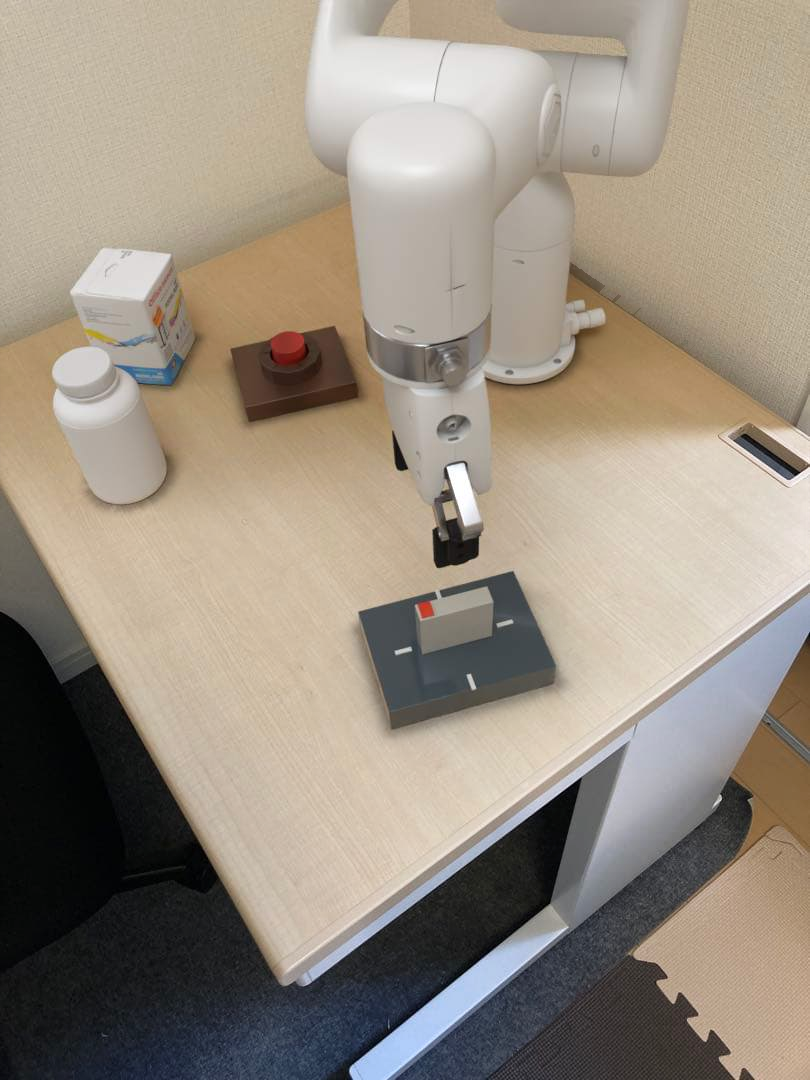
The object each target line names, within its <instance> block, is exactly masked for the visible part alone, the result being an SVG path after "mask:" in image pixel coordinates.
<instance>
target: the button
mask: <svg viewBox="0 0 810 1080" xmlns="http://www.w3.org/2000/svg"><path fill="white" fill-rule="evenodd" d="M299 333H300V332H297V331H293V330H292V331H291V330H289V331H282V332H280V333H277V334H276V335H274V336H275V337H274V336H272V337H273V339H272V340H271V349H272V354H273V358H274V360H275V361H276V362H277V363H278V364H282V365H291V364H296V363H299V362H300V361H302V360H303V359H305V357H306V347H305V341H304V337H303V336H302V335H301V334H299Z"/></svg>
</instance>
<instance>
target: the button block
mask: <svg viewBox="0 0 810 1080" xmlns="http://www.w3.org/2000/svg"><path fill="white" fill-rule="evenodd" d="M298 333H299V334H301V335H302V336H303V337H304V341H305V347H306V357H305V359H303V360H302V361H300V362H299V363H296V364H291V365H282V364H278V363H277V362H276V361H275V360H274V358H273V354H272V349H271V340H272V339H273V337H275V336H276V335H274V336H272V337H270V338H269V339H267V340H263V341H258V342H253V343H249V344H244V345H240V346H236V347H235V346H234V347H230V353H231V357H232V362H233V365H234V370H235V373H236V374H235V375H236V377H237V381H238V386H239V389H240V393H241V398H242V401H243V405H244V409H245V412H246V416H247V421H248V422H249V423H251V422H256V421H260V420H264V419H269V418H273V417H277V416H282V415H287V414H290V413H295V412H298V411H304V410H308V409H313V408H316V407H320V406H325V405H330V404H335V403H339V402H343V401H347V400H352V399H356V398H358V397H359V393H358V386H357V381H356V378H355V375H354V373H353V370H352V368H351V365H350V362H349V359H348V356H347V354H346V352H345V349H344V346H343V344H342V341H341V338H340V335H339V333H338V330H337V328H336V326H335V325H332V326H327V327H323V328H319V329H318V328H317V329H314V330H308V331H305V332H298Z"/></svg>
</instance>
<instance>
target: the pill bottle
mask: <svg viewBox="0 0 810 1080" xmlns="http://www.w3.org/2000/svg"><path fill="white" fill-rule="evenodd" d="M51 376H52V379H53V381H54V383H55V385H56V387H57V388H56V390H55V392H54V395H53V399H52V409H53V413H54V416H55V418H56V420H57V423H58V425H59V427H60V429H61V431H62V433H63V435H64V437H65V439H66V441H67V443H68V446H69V447H70V449H71V451H72V454H73V456H74V458H75V460H76V463H77V464H78V466H79V469H80V471H81V473H82V474H83V477H84V479H85V481H86V483H87V485H88V487H89V489H90V490H91V491H92V493H93V494H94V495H95V496H96V498H98V499H99V500H101V501H103V502H105V503H108V504H112V505H129V504H130V505H131V504H134V503H139V502H140V501H143V500H145V499H147V498H148V497H150V496H151V495H153V494H155V493H156V492H157V491H158V489H160V487H161V486H162V484H163V483H164V481H165V479H166V477H167V471H168V470H167V469H168V467H167V461H166V457H165V453H164V452H163V449H162V446H161V444H160V441H159V438H158V434H157V433H156V430H155V426H154V424H153V421H152V418H151V416H150V413H149V410H148V408H147V405H146V402H145V399H144V397H143V394H142V391H141V388H140V386H139V383H137V382H136V381H135V379H134V378H133V377H132V376H131V375H130V374H129V373H127V372H126V371H124V370H122V369H120V368H118V367H115V366H114V363H113V361H112V358H111V356H110V355H109V354H108V353H107V352H106V351H104V350H103V349H100V348H97V347H91V346H80V347H77V348H73V349H71V350H69V351H67V352H65V353H64V354H62V355H61V356H60V357H59V358H58V359H56V361H55V362H54V364H53V367H52V371H51Z"/></svg>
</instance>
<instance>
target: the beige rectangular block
mask: <svg viewBox="0 0 810 1080" xmlns="http://www.w3.org/2000/svg"><path fill="white" fill-rule="evenodd" d="M415 616H416V630H417V640H418V643H419V646H420V649H421V652H422V654H426V653H430V652H433V651H437V650H441V649H445V648H448V647H452V646H456V645H460V644H463V643H467V642H471V641H475V640H478V639H482V638H486V637H490V636H492V622H493V599H492V597H491V594H490V592H489V590H488V587H487V586H486V587H482V588H479V589H475V590H471V591H467V592H463V593H459V594H455V595H451V596H448V597H444V598H440V599H436V600H432V601H427V602H424V603H420V604H417V605H415Z"/></svg>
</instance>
